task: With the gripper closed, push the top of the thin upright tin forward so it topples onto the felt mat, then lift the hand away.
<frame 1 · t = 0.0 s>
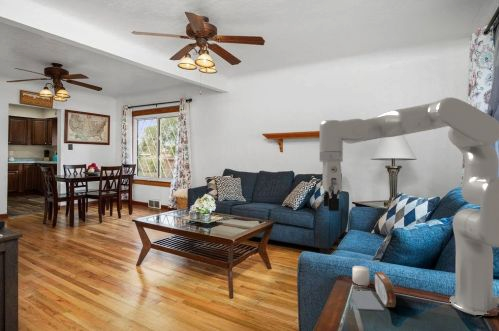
hand: (330, 208, 97), 31 cm above the table, fingers open, 9 cm apart
white rounded dome: (360, 284, 111), on the table
mat: (364, 299, 99), on the table
tin: (383, 301, 98), on the table
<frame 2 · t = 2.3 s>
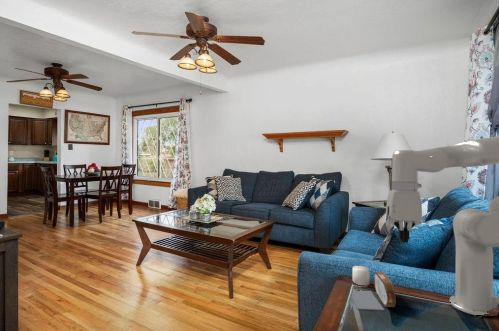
hand: (403, 241, 97), 20 cm above the table, fingers closed
nothing on the table moved.
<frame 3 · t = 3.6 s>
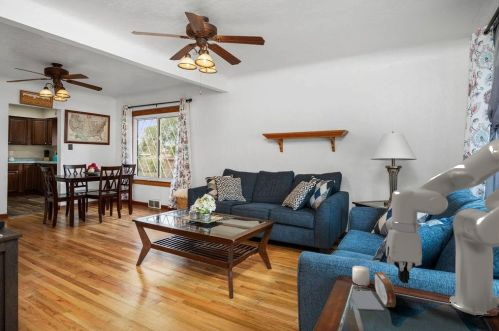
hand: (403, 281, 97), 7 cm above the table, fingers closed
nothing on the table moved.
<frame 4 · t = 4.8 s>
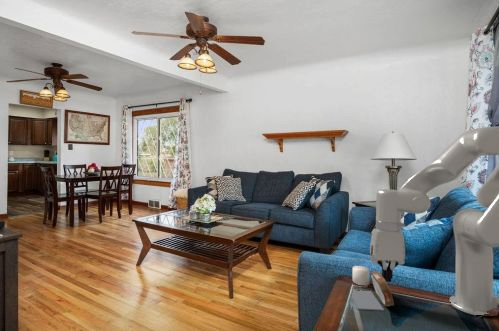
hand: (387, 280, 98), 7 cm above the table, fingers closed
tin: (383, 300, 98), on the table, touching gripper
everything else where it was.
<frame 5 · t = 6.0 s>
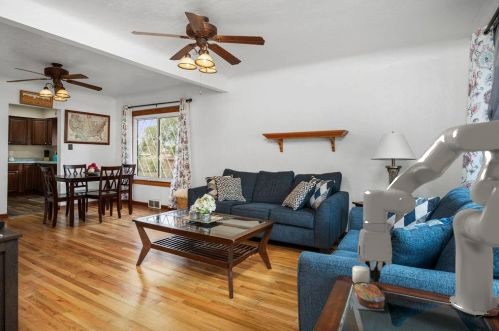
hand: (374, 280, 98), 7 cm above the table, fingers closed
tin: (381, 296, 98), point 1 cm above the table, touching mat
everything else where it was.
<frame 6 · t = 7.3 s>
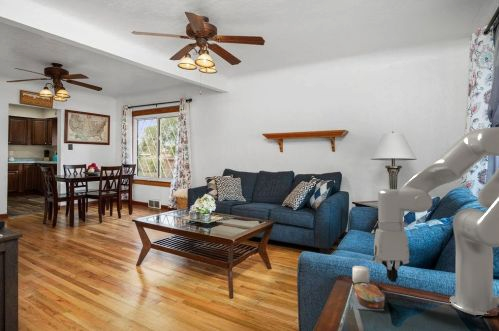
hand: (392, 280, 98), 7 cm above the table, fingers closed
nothing on the table moved.
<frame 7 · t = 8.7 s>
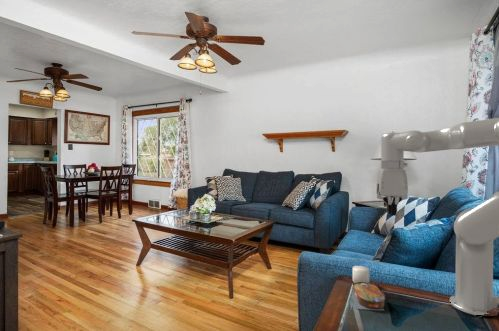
hand: (391, 214, 108), 27 cm above the table, fingers closed
nothing on the table moved.
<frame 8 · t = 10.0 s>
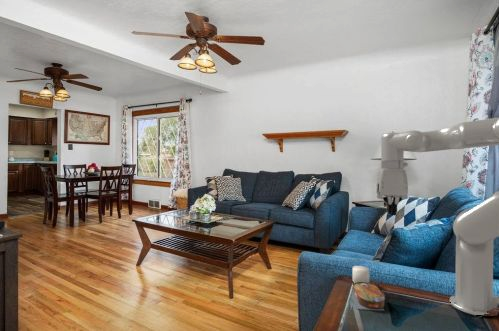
hand: (392, 214, 109), 27 cm above the table, fingers closed
nothing on the table moved.
at the end: tin tilted 85°; tin inside the target area (5.8 cm from its centre), point 1.3 cm above the table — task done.
